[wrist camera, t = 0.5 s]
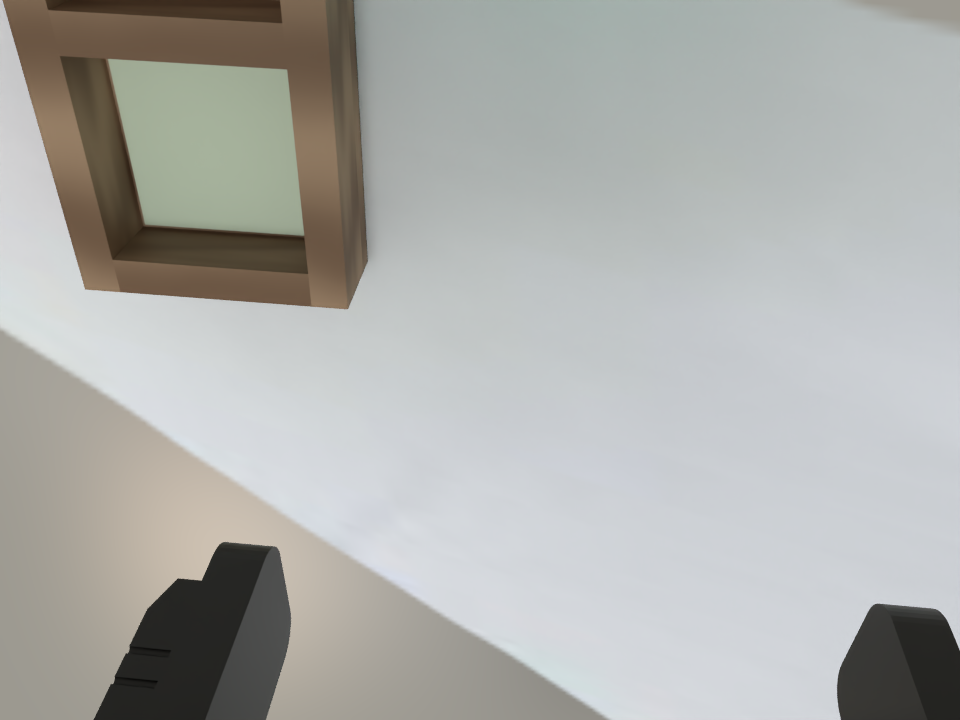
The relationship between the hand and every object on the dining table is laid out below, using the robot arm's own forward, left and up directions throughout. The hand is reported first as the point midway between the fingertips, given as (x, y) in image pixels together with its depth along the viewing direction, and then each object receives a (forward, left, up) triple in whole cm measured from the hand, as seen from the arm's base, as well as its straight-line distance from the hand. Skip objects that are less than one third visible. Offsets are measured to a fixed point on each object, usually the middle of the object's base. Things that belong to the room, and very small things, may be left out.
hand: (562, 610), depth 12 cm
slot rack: (-1, -14, -25) cm, 28 cm away
